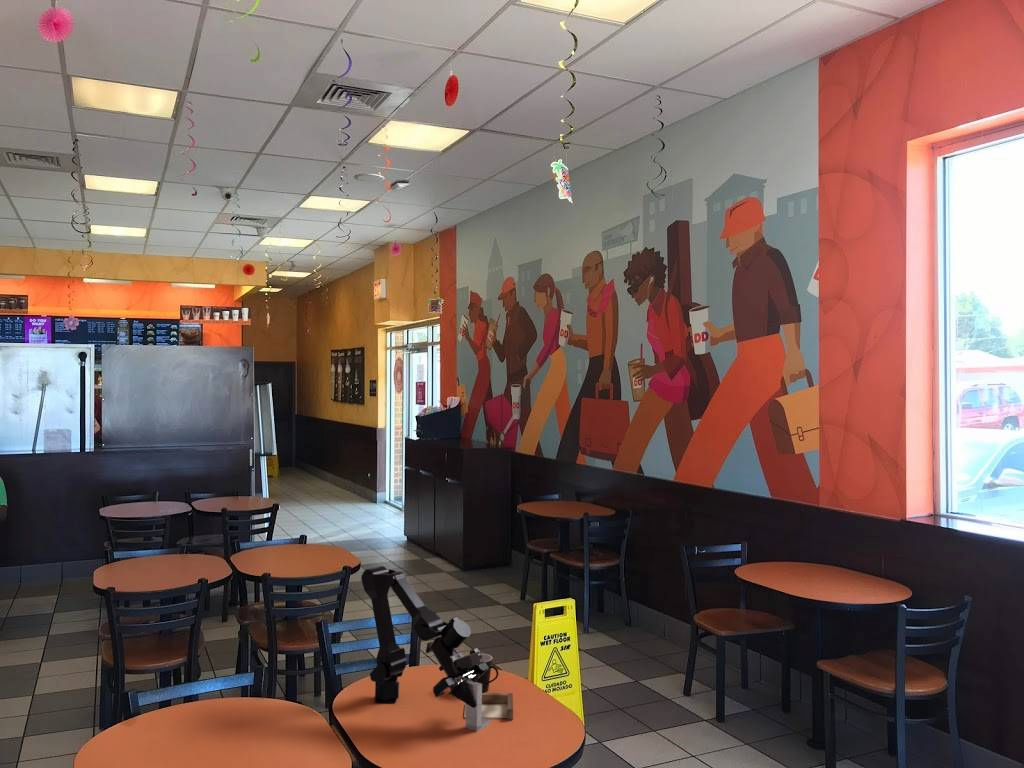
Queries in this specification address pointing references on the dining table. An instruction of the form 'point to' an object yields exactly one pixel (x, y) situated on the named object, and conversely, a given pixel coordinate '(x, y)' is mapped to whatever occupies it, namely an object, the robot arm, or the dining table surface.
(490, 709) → the corner fixture
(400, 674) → the robot arm
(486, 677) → the coffee mug
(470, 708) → the bracket
